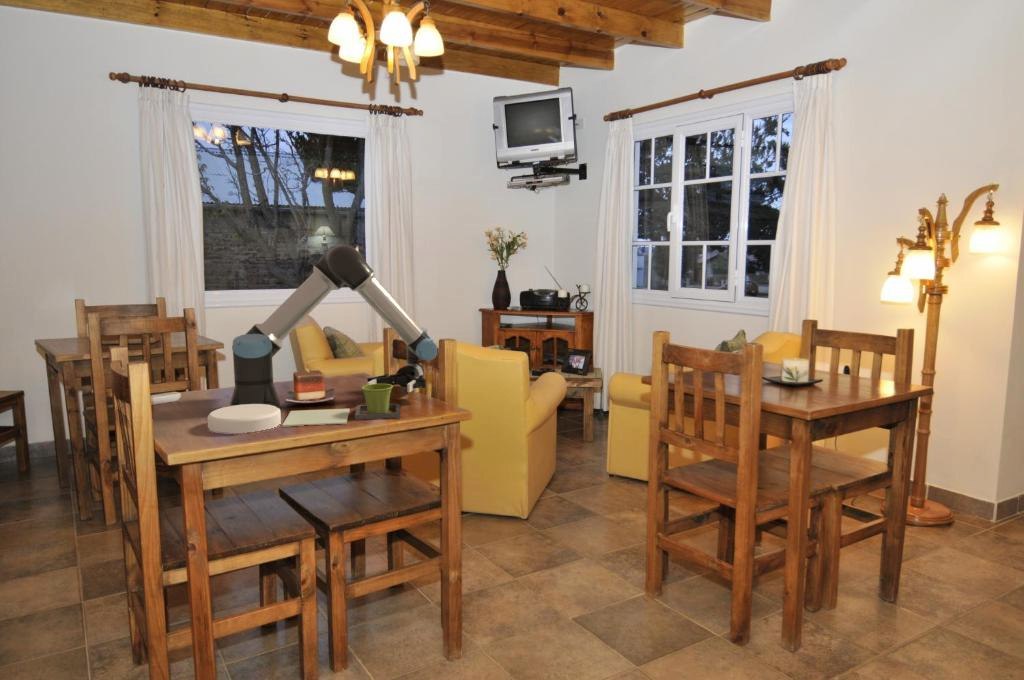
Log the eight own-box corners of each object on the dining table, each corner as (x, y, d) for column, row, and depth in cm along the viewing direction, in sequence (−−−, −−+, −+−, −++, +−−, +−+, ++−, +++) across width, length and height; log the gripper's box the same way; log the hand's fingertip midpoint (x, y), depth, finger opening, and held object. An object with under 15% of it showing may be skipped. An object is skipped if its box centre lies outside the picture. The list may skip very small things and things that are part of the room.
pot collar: (355, 420, 214) (354, 415, 214) (357, 409, 227) (356, 405, 227) (400, 418, 217) (400, 413, 216) (399, 408, 230) (399, 403, 229)
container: (293, 426, 208) (292, 411, 207) (224, 439, 194) (223, 423, 194) (263, 414, 223) (262, 400, 222) (197, 426, 209) (196, 410, 208)
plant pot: (384, 418, 216) (383, 390, 215) (357, 416, 219) (356, 388, 218) (398, 411, 225) (398, 384, 224) (372, 409, 228) (371, 382, 227)
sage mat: (282, 427, 206) (282, 425, 206) (290, 412, 224) (290, 410, 224) (346, 424, 209) (346, 422, 209) (349, 410, 227) (349, 408, 227)
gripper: (443, 387, 249) (425, 400, 228) (375, 385, 254) (352, 397, 233) (443, 366, 248) (425, 377, 227) (375, 364, 253) (351, 375, 232)
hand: (388, 387), depth 230 cm, fingers open, 13 cm apart
